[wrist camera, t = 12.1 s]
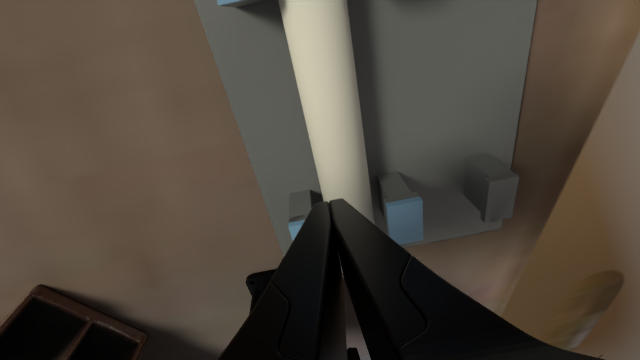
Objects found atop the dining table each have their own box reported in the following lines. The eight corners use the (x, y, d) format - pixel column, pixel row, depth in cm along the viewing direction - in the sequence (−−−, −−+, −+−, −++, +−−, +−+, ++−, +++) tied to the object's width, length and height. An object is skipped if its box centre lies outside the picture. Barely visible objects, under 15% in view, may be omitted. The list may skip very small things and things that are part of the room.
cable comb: (288, 263, 24) (287, 310, 20) (135, -185, 11) (55, -285, 8) (495, 222, 23) (534, 262, 20) (567, -291, 11) (713, -454, 7)
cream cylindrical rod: (373, 234, 22) (384, 264, 19) (332, 243, 22) (337, 273, 20) (321, -170, 12) (329, -223, 9) (242, -151, 12) (228, -198, 9)
